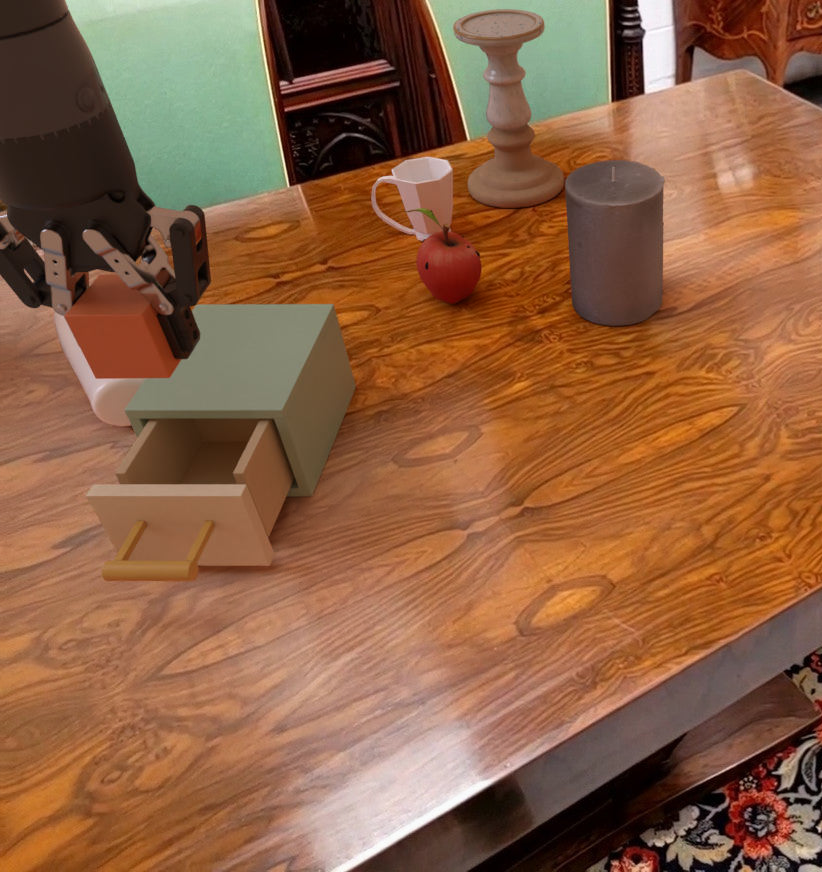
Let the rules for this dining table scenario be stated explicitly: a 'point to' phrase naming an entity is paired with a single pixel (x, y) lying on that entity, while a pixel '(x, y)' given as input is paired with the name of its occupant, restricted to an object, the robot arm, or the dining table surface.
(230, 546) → the drawer
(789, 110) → the dining table surface
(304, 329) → the cabinet
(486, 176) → the candle holder
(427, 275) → the apple
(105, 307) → the block
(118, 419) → the drinking glass
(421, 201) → the cup
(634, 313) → the pillar candle
